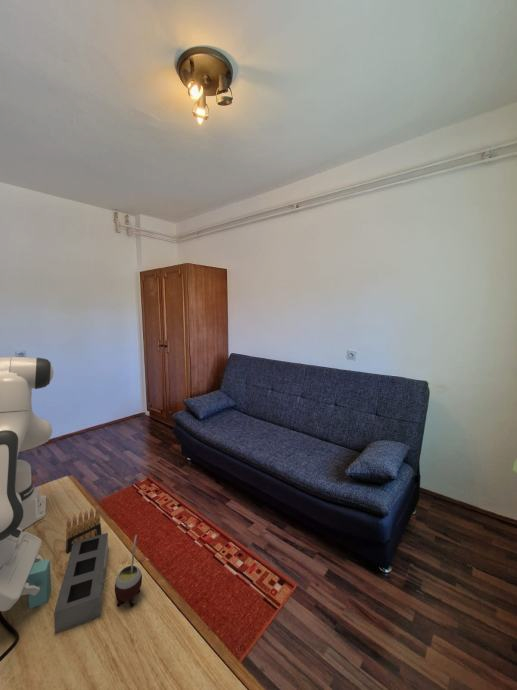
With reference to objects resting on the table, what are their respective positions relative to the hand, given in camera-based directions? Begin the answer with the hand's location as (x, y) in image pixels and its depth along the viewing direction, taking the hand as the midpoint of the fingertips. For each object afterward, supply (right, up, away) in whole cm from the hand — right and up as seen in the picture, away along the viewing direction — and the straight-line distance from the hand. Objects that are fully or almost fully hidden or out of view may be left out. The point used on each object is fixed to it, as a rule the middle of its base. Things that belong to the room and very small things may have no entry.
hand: (42, 579), depth 78 cm
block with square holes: (+9, -6, +5) cm, 12 cm away
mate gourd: (+24, -7, +1) cm, 25 cm away
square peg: (-1, -6, 0) cm, 6 cm away
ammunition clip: (-1, -4, +20) cm, 20 cm away
